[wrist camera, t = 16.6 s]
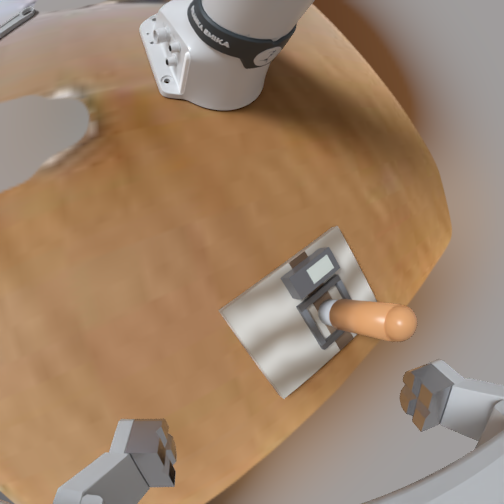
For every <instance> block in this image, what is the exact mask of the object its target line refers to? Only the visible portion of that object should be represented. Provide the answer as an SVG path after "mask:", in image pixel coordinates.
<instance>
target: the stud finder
mask: <svg viewBox="0 0 504 504" xmlns="http://www.w3.org/2000/svg"><path fill="white" fill-rule="evenodd" d="M339 268H340V266H339V264H338V262H337V260H336V259H335V257H334V255H333V253H332V251H331V250H330V248H329V247H324V248H319V249H318V250H316V251H315V252H314V253H312V254H311V255H310V256H309V257H307V258H306V259H305V260H303V261H302V262H301V263H299V264H298V265H297V266H295V267H294V268H293V269H291V270H290V271H289V272H287V273H286V274H285V275H283V276H282V277H281V280H282V282H283V283H284V285H285V287H286V288H287V290H288V291H289V293H290V295H291V296H292V298H293V299H300V300H302V299H303V298H305V297H306V296H307V295H308V294H309V293H311V292H312V291H313V290H314V289H316V288H317V287H318V286H319V285H320V284H322V283H323V282H324V281H325V280H326V279H328V278H329V277H330V276H331V275H332V274H334V273H335V272H336V271H337V270H338V269H339Z"/></svg>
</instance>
